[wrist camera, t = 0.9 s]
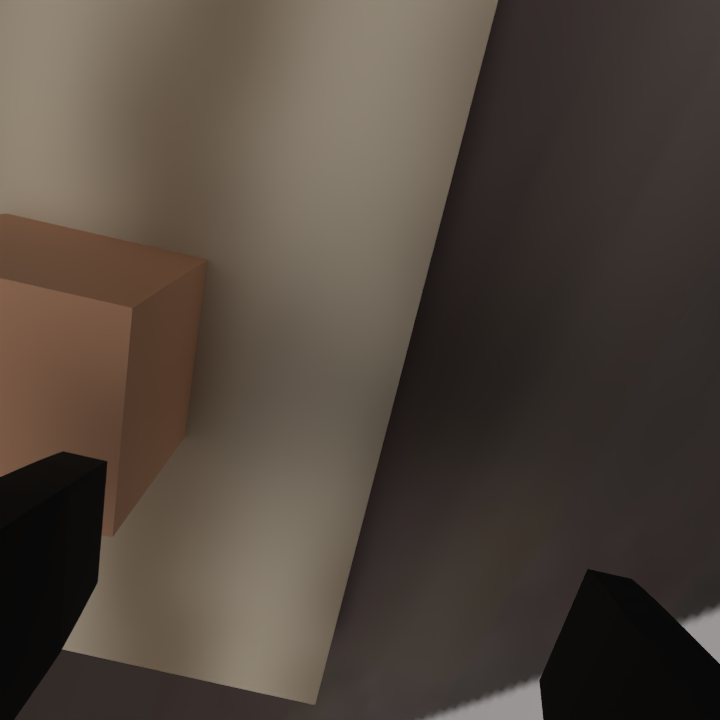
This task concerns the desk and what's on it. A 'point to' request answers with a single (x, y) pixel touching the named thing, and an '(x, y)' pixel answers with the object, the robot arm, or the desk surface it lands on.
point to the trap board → (249, 283)
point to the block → (95, 353)
